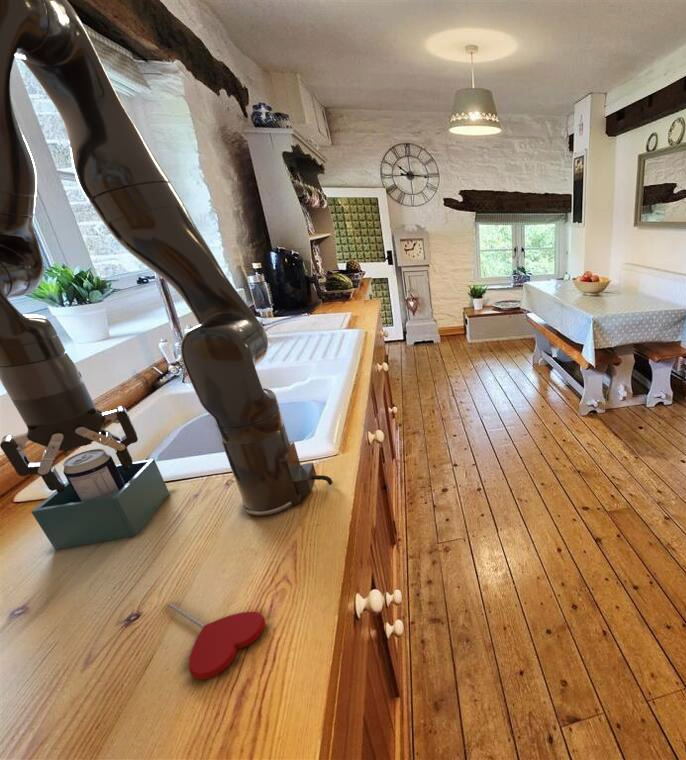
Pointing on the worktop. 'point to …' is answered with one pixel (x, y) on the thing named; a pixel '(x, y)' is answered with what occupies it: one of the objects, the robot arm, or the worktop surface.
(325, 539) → the worktop surface
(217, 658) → the lollipop
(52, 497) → the bin
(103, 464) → the beverage can
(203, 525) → the worktop surface
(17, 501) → the worktop surface
